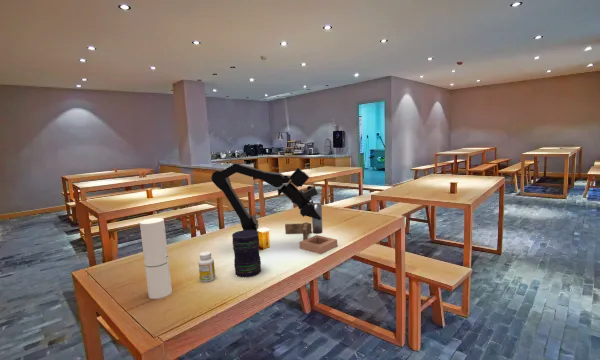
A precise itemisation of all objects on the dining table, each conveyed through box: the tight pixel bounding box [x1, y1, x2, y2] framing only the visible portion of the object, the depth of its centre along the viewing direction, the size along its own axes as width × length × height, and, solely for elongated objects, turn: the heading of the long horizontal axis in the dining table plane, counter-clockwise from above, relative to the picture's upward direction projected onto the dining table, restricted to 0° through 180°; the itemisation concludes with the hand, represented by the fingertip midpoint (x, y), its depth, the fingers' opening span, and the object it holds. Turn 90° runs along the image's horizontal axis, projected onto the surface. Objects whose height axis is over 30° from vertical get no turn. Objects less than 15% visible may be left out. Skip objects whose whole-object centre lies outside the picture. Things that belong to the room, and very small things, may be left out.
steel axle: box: [311, 202, 323, 235], centre depth 141 cm, size 4×4×13 cm
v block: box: [284, 221, 313, 241], centre depth 163 cm, size 10×16×5 cm, turn 40°
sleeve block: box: [299, 234, 338, 255], centre depth 143 cm, size 12×12×3 cm
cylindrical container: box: [139, 217, 173, 300], centre depth 105 cm, size 7×7×25 cm
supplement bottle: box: [197, 251, 216, 283], centre depth 115 cm, size 5×5×10 cm
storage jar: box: [231, 229, 262, 279], centre depth 119 cm, size 10×10×15 cm
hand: (320, 217), depth 141 cm, fingers closed on steel axle, 4 cm apart
